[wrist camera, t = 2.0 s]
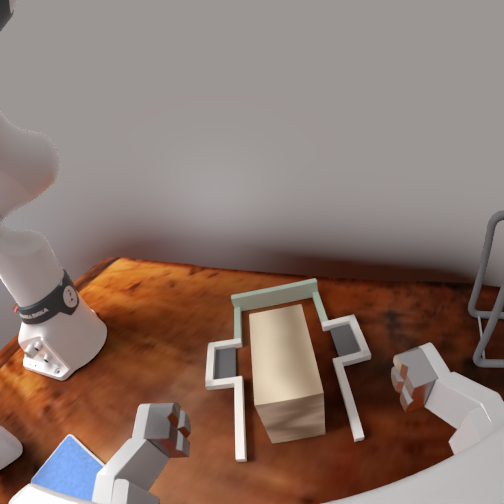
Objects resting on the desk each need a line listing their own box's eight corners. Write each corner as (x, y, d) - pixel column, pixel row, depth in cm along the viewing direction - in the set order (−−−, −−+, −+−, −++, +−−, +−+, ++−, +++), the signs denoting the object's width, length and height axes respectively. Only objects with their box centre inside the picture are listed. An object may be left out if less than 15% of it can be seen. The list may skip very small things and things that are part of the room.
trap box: (204, 463, 27) (194, 455, 25) (212, 312, 50) (207, 299, 49) (396, 429, 25) (401, 418, 24) (339, 287, 49) (339, 272, 47)
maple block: (272, 443, 28) (254, 405, 23) (264, 365, 39) (249, 314, 33) (325, 434, 28) (323, 392, 23) (308, 357, 38) (301, 303, 33)
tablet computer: (167, 509, 22) (161, 507, 21) (116, 573, 13) (109, 572, 12) (74, 435, 31) (69, 431, 31) (33, 485, 22) (27, 481, 22)
